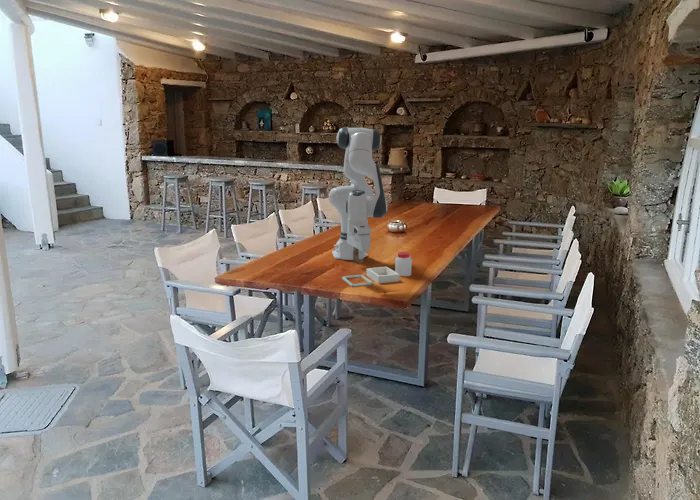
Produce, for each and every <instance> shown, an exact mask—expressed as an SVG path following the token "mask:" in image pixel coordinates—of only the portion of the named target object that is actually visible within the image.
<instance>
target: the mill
mask: <svg viewBox="0 0 700 500" xmlns="http://www.w3.org/2000/svg"><path fill="white" fill-rule="evenodd" d="M358 255H359V251H358V249H357V248H355V247H353V260H352V262H353V263H354V264H361V263H364V258H363V259H359V258H358Z"/></svg>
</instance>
